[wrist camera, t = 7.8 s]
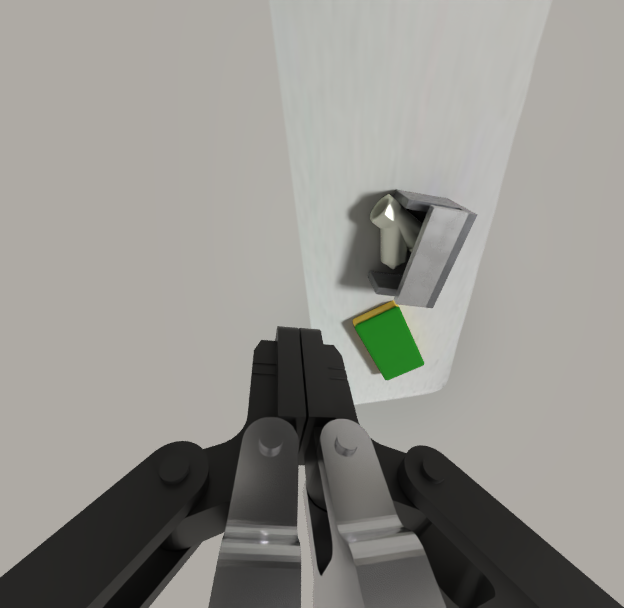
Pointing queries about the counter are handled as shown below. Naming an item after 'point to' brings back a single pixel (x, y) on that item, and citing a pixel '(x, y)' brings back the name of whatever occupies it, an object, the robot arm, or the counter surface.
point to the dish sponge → (388, 340)
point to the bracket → (427, 251)
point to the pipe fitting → (395, 230)
